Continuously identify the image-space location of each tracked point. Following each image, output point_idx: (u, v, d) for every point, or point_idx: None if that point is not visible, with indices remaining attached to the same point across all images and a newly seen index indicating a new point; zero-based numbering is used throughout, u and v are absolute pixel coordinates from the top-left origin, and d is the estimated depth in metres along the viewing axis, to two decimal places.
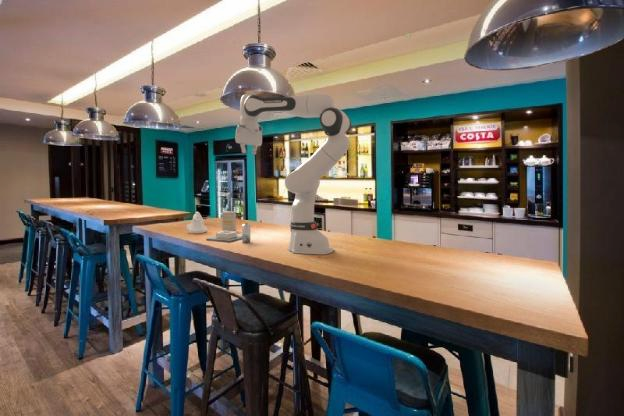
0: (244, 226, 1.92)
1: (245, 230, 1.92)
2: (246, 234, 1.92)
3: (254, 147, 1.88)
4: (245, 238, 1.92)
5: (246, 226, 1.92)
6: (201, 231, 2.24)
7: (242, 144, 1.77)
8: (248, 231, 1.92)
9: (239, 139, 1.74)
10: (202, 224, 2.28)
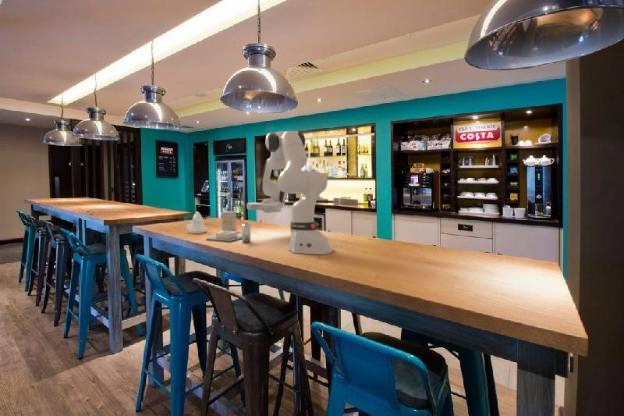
0: (244, 226, 1.92)
1: (245, 230, 1.92)
2: (246, 234, 1.92)
3: None
4: (245, 238, 1.92)
5: (246, 226, 1.92)
6: (201, 231, 2.24)
7: None
8: (248, 231, 1.92)
9: None
10: (202, 224, 2.28)
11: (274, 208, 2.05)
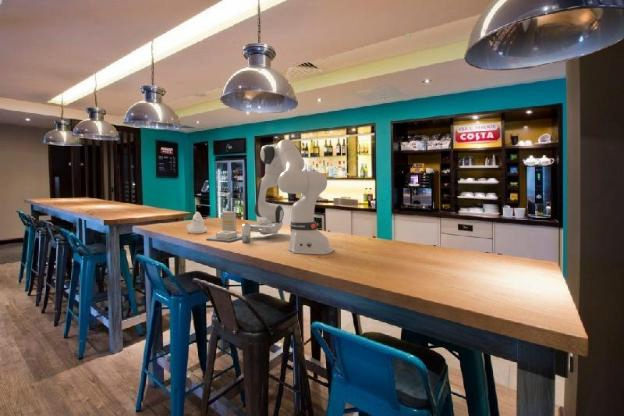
0: (244, 226, 1.92)
1: (245, 230, 1.92)
2: (246, 234, 1.92)
3: None
4: (245, 238, 1.92)
5: (246, 226, 1.92)
6: (201, 231, 2.24)
7: None
8: (248, 231, 1.92)
9: None
10: (202, 224, 2.28)
11: (270, 230, 2.01)
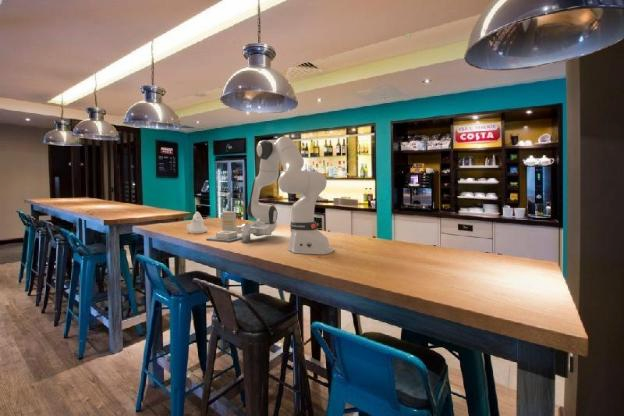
0: (244, 226, 1.92)
1: (245, 230, 1.92)
2: (246, 234, 1.92)
3: None
4: (245, 238, 1.92)
5: (246, 226, 1.92)
6: (201, 231, 2.24)
7: None
8: (248, 231, 1.92)
9: None
10: (202, 224, 2.28)
11: (264, 231, 1.94)
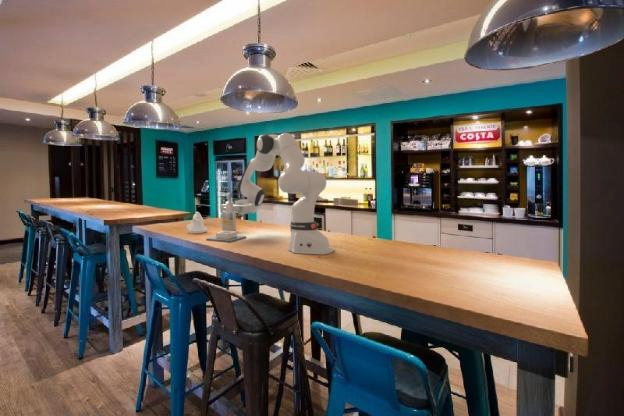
0: (227, 203, 1.99)
1: (228, 207, 1.99)
2: (229, 211, 1.99)
3: None
4: (228, 215, 1.99)
5: (229, 203, 1.99)
6: (201, 231, 2.24)
7: None
8: (231, 208, 2.00)
9: None
10: (202, 224, 2.28)
11: (246, 209, 2.01)
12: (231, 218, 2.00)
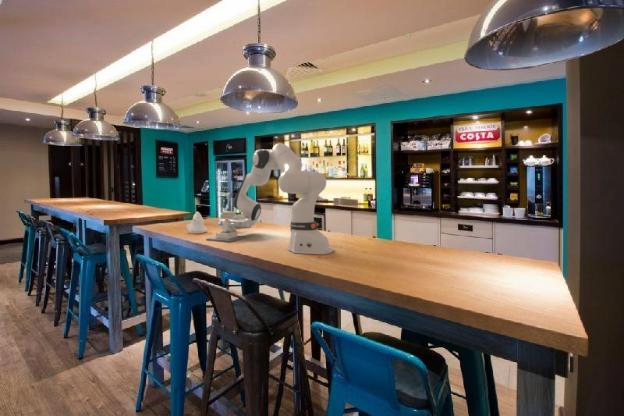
0: (224, 222, 2.01)
1: (225, 225, 2.01)
2: (226, 229, 2.02)
3: None
4: None
5: (226, 222, 2.01)
6: (201, 231, 2.24)
7: None
8: (228, 226, 2.02)
9: None
10: (202, 224, 2.28)
11: (243, 224, 2.04)
12: None
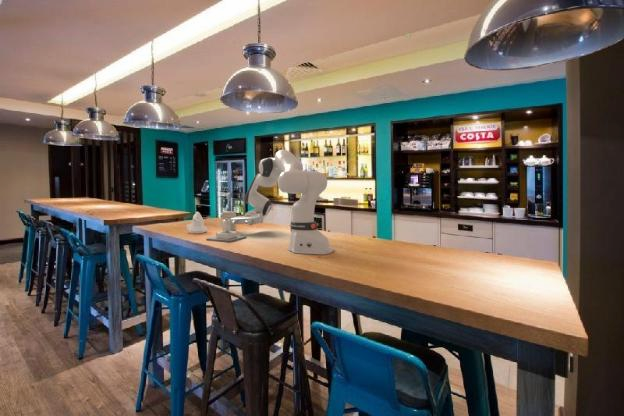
0: (224, 222, 2.01)
1: (225, 225, 2.01)
2: (226, 229, 2.02)
3: None
4: None
5: (226, 222, 2.01)
6: (201, 231, 2.24)
7: None
8: (228, 226, 2.02)
9: None
10: (202, 224, 2.28)
11: (256, 221, 2.15)
12: None
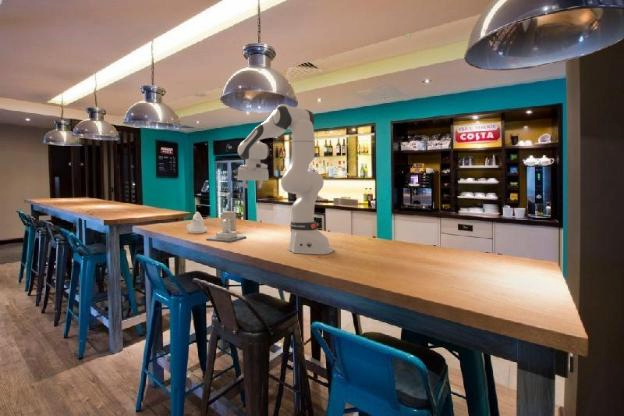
0: (224, 222, 2.01)
1: (225, 225, 2.01)
2: (226, 229, 2.02)
3: None
4: None
5: (226, 222, 2.01)
6: (201, 231, 2.24)
7: None
8: (228, 226, 2.02)
9: None
10: (202, 224, 2.28)
11: None
12: None
